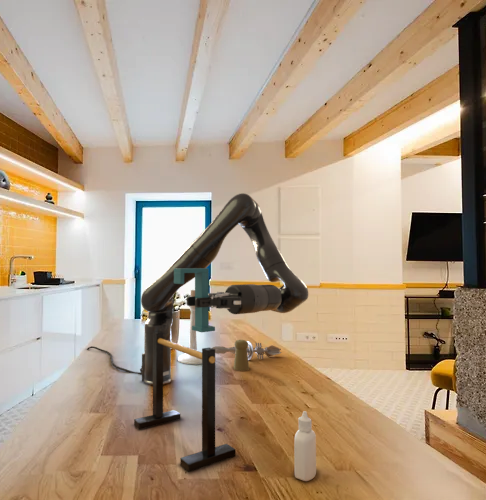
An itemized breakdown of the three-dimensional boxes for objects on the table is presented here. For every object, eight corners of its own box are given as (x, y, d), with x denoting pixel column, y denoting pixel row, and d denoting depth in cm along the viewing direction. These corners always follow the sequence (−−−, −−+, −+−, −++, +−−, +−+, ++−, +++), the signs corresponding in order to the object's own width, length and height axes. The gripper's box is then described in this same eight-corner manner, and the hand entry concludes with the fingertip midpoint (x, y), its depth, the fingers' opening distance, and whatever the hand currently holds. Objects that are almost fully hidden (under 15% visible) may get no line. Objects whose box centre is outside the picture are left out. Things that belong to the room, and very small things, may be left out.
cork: (249, 371, 143) (249, 342, 143) (233, 370, 144) (233, 341, 145) (249, 366, 149) (249, 338, 149) (233, 366, 150) (233, 338, 151)
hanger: (205, 328, 94) (205, 268, 94) (215, 330, 90) (214, 268, 91) (172, 332, 89) (172, 268, 89) (181, 334, 85) (181, 268, 86)
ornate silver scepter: (205, 341, 158) (215, 337, 152) (273, 344, 172) (284, 340, 165) (207, 361, 155) (217, 358, 148) (276, 361, 168) (287, 358, 162)
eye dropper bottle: (286, 471, 74) (285, 409, 74) (309, 466, 76) (309, 405, 76) (301, 483, 70) (300, 418, 70) (325, 477, 72) (324, 414, 72)
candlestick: (171, 361, 157) (172, 289, 158) (188, 355, 168) (188, 287, 169) (198, 365, 150) (198, 290, 151) (213, 359, 161) (213, 288, 162)
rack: (174, 415, 101) (174, 329, 102) (235, 456, 80) (235, 347, 80) (134, 425, 95) (134, 333, 96) (188, 472, 73) (188, 353, 74)
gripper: (229, 283, 104) (176, 284, 95) (265, 285, 92) (209, 288, 83) (229, 310, 104) (176, 314, 95) (266, 316, 92) (209, 322, 83)
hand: (191, 302), depth 89 cm, fingers closed on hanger, 3 cm apart
